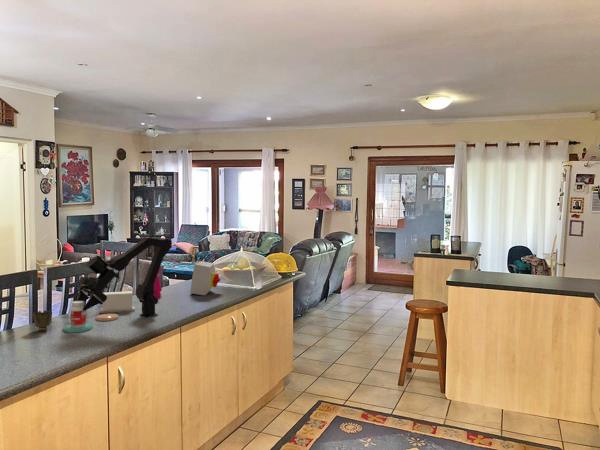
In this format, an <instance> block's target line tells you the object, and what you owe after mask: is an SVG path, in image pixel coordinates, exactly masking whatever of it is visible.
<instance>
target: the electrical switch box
mask: <svg viewBox="0 0 600 450" xmlns="http://www.w3.org/2000/svg"><path fill="white" fill-rule="evenodd" d="M216 272H217V271H216V266H215V263H213V262H207V261H202V260H196V262H195V263H194V265H193V272H192V277H191V283H190V290H189V294H193V295H199V296H204V295H205V296H207V295H208V293H210V291H211V290H212V288H217V287H218V283H220V282H221V277H219V276H220V275H219V273H216Z"/></svg>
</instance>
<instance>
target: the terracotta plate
mask: <svg viewBox="0 0 600 450" xmlns="http://www.w3.org/2000/svg"><path fill="white" fill-rule="evenodd" d="M119 317H120V316H119V314H117V313H101V314H98V315H97V316H96V317H95V319H96V321H98V322H110V321H116V320H118V319H119Z"/></svg>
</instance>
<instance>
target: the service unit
mask: <svg viewBox="0 0 600 450" xmlns="http://www.w3.org/2000/svg"><path fill="white" fill-rule="evenodd" d="M103 293H104V294H105V295H106V296H107V300H106V301H105V302H102V307H100V314H110V313H123V312H135V310H136V309H135V305H133V291H131V290H130V291H110V292H109V291H108V292H103Z"/></svg>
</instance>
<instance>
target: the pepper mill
mask: <svg viewBox="0 0 600 450" xmlns="http://www.w3.org/2000/svg"><path fill="white" fill-rule="evenodd" d="M161 270H162V269H161V267H160V269H159V272H158V274H157V277H156V280H155V283H154V296H155V297H156V298H157V299H158V298H161V297H162V293H161V292H162V291H163V288H162V284H161V282H160V276H161Z"/></svg>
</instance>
